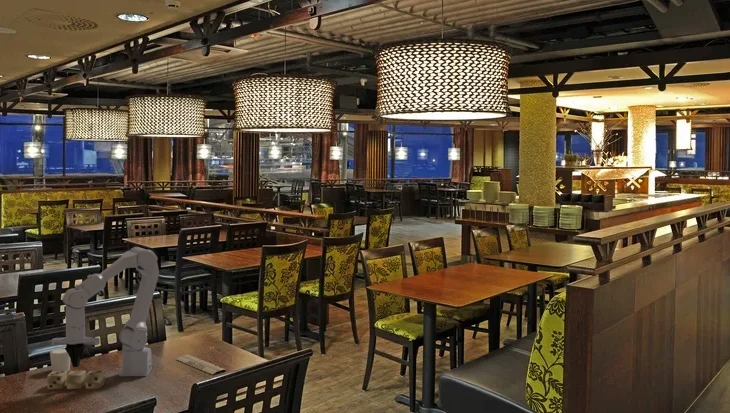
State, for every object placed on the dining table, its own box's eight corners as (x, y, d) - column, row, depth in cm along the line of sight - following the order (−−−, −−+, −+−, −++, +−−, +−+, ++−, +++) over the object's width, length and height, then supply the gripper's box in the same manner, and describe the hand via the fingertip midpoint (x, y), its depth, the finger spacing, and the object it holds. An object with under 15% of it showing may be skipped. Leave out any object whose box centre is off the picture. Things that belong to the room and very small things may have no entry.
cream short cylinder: (63, 374, 215) (62, 354, 215) (45, 372, 217) (45, 352, 216) (75, 367, 222) (75, 348, 221) (59, 366, 223) (58, 347, 223)
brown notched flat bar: (227, 373, 221) (227, 368, 221) (210, 378, 216) (210, 373, 216) (190, 358, 237) (190, 353, 237) (173, 362, 232) (173, 357, 231)
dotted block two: (104, 383, 207) (104, 370, 207) (100, 388, 203) (99, 374, 203) (90, 383, 207) (90, 370, 207) (85, 388, 202) (85, 375, 202)
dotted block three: (67, 384, 206) (67, 370, 206) (61, 389, 202) (61, 375, 201) (53, 384, 206) (52, 370, 206) (47, 389, 201) (47, 375, 201)
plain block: (86, 383, 207) (85, 370, 207) (81, 388, 202) (80, 375, 202) (72, 384, 206) (71, 370, 206) (66, 389, 202) (66, 375, 202)
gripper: (47, 329, 198) (48, 370, 199) (94, 328, 200) (94, 369, 201) (56, 323, 205) (56, 363, 206) (101, 323, 207) (102, 362, 208)
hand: (76, 366), depth 204 cm, fingers closed
